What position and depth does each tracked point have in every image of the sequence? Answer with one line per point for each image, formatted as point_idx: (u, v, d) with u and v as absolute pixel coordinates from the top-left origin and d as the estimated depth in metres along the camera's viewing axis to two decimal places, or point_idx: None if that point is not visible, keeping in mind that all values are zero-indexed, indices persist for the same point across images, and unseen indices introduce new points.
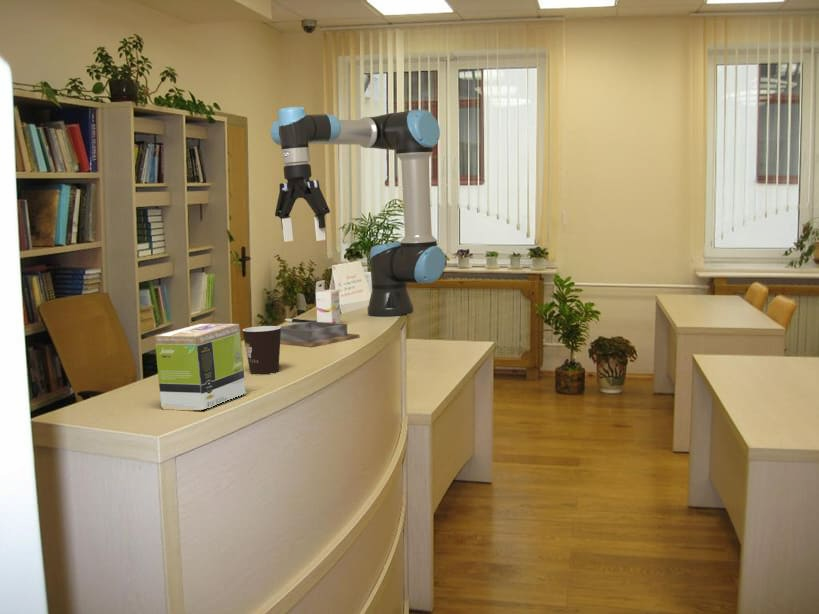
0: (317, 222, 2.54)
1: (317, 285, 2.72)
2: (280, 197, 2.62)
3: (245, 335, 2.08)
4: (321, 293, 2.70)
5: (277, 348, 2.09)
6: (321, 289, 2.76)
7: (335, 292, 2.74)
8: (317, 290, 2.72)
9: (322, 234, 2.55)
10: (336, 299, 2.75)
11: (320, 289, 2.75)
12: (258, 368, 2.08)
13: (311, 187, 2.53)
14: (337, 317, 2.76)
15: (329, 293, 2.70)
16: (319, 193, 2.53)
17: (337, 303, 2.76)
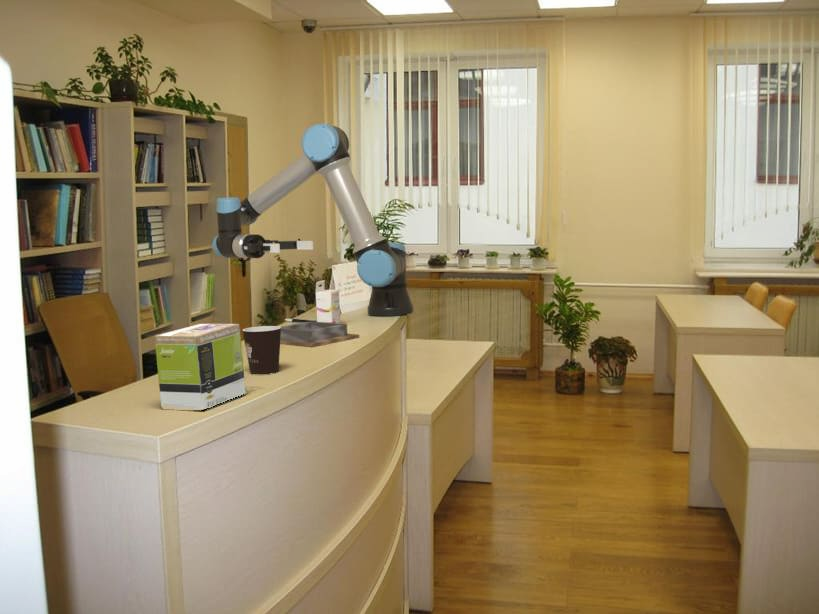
0: (266, 251, 2.79)
1: (317, 285, 2.72)
2: None
3: (245, 335, 2.08)
4: (321, 293, 2.70)
5: (277, 348, 2.09)
6: (321, 289, 2.76)
7: (335, 292, 2.74)
8: (317, 290, 2.72)
9: (274, 247, 2.76)
10: (336, 299, 2.75)
11: (320, 289, 2.75)
12: (258, 368, 2.08)
13: (248, 251, 2.86)
14: (337, 317, 2.76)
15: (329, 293, 2.70)
16: (248, 247, 2.83)
17: (337, 303, 2.76)
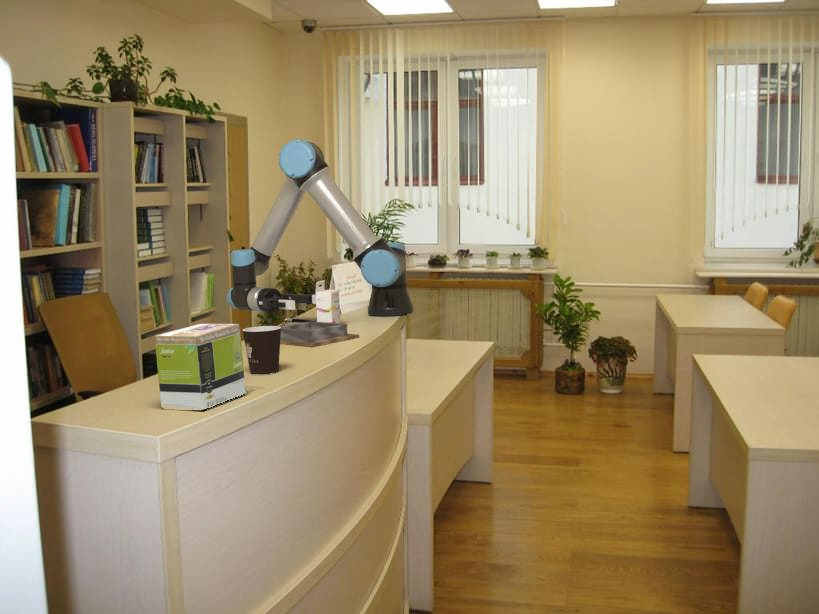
0: (282, 308, 2.77)
1: (317, 285, 2.72)
2: None
3: (245, 335, 2.08)
4: (321, 293, 2.70)
5: (277, 348, 2.09)
6: (321, 289, 2.76)
7: (335, 292, 2.74)
8: (317, 290, 2.72)
9: (289, 303, 2.74)
10: (336, 299, 2.75)
11: (320, 289, 2.75)
12: (258, 368, 2.08)
13: (263, 306, 2.84)
14: (337, 317, 2.76)
15: (329, 293, 2.70)
16: (263, 302, 2.81)
17: (337, 303, 2.76)
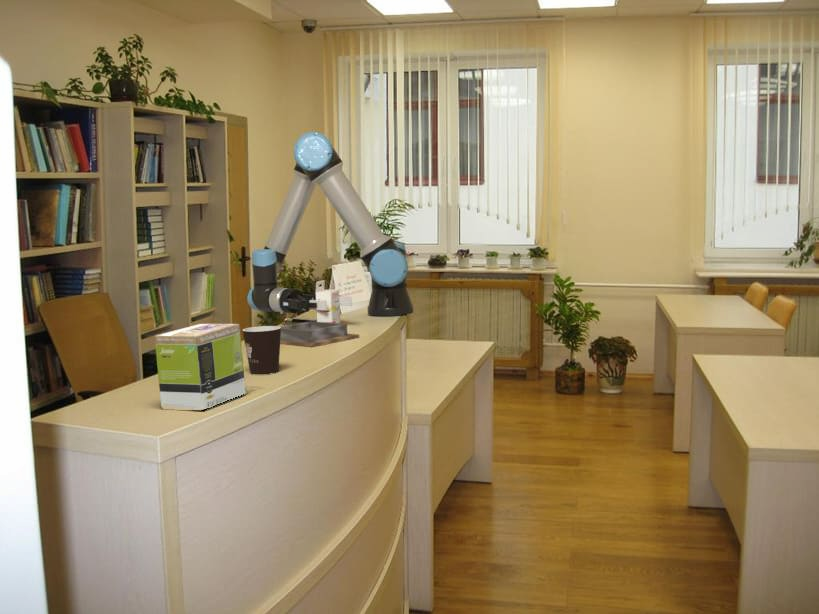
0: (313, 308, 2.71)
1: (317, 285, 2.72)
2: None
3: (245, 335, 2.08)
4: (321, 293, 2.70)
5: (277, 348, 2.09)
6: (321, 289, 2.76)
7: (335, 292, 2.74)
8: (317, 290, 2.72)
9: (321, 304, 2.69)
10: (336, 299, 2.75)
11: (320, 289, 2.75)
12: (258, 368, 2.08)
13: (288, 307, 2.77)
14: (337, 317, 2.76)
15: (329, 293, 2.70)
16: (290, 303, 2.75)
17: (337, 303, 2.76)
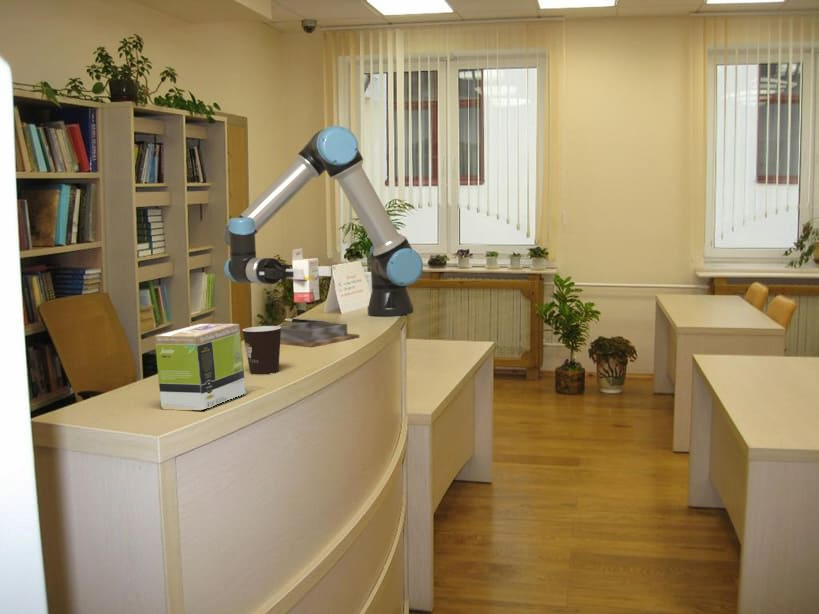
0: (289, 277, 2.56)
1: (294, 253, 2.57)
2: None
3: (245, 335, 2.08)
4: (298, 261, 2.56)
5: (277, 348, 2.09)
6: (299, 258, 2.61)
7: (313, 261, 2.59)
8: (294, 258, 2.58)
9: (297, 273, 2.54)
10: (314, 268, 2.60)
11: (298, 258, 2.60)
12: (258, 368, 2.08)
13: None
14: (316, 287, 2.61)
15: (306, 261, 2.55)
16: (266, 272, 2.60)
17: (316, 273, 2.61)
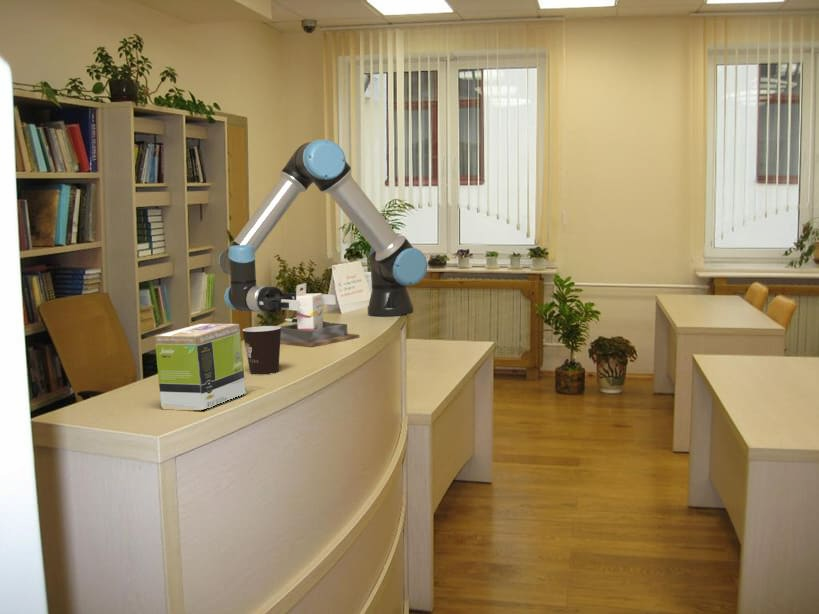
0: (285, 308, 2.52)
1: (298, 289, 2.54)
2: None
3: (245, 335, 2.08)
4: (302, 297, 2.53)
5: (277, 348, 2.09)
6: (302, 293, 2.58)
7: (317, 296, 2.56)
8: (298, 294, 2.55)
9: (293, 304, 2.50)
10: (318, 304, 2.57)
11: (301, 293, 2.57)
12: (258, 368, 2.08)
13: None
14: (319, 323, 2.58)
15: (310, 297, 2.52)
16: (264, 302, 2.57)
17: (319, 308, 2.58)
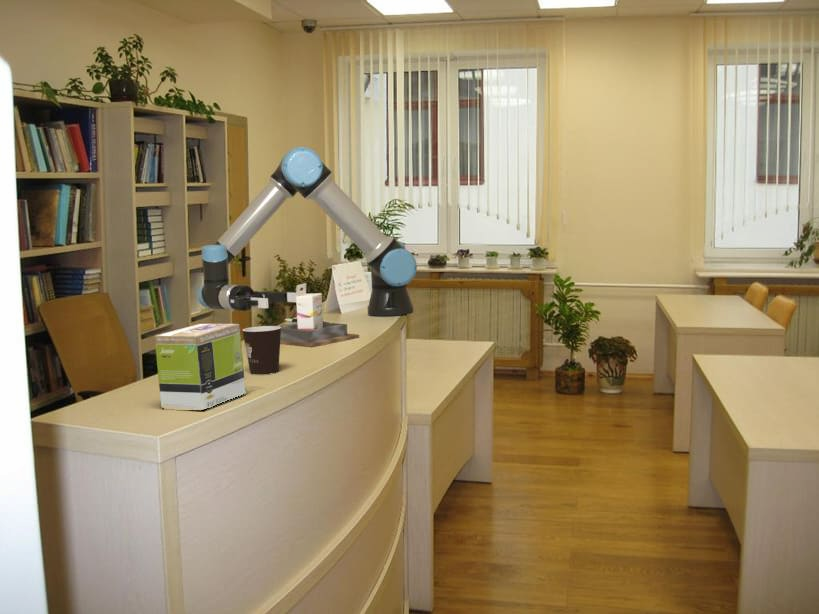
0: (254, 306, 2.61)
1: (298, 289, 2.54)
2: None
3: (245, 335, 2.08)
4: (302, 297, 2.53)
5: (277, 348, 2.09)
6: (302, 293, 2.58)
7: (317, 296, 2.56)
8: (298, 294, 2.55)
9: (262, 302, 2.58)
10: (318, 304, 2.57)
11: (301, 293, 2.57)
12: (258, 368, 2.08)
13: None
14: (319, 323, 2.58)
15: (310, 297, 2.52)
16: (235, 300, 2.65)
17: (319, 308, 2.58)
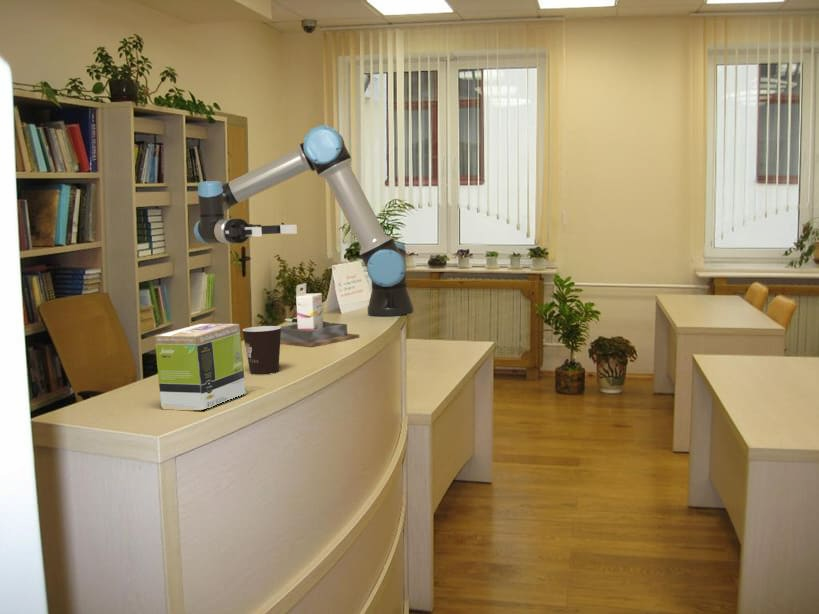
0: (248, 235, 2.70)
1: (298, 289, 2.54)
2: None
3: (245, 335, 2.08)
4: (302, 297, 2.53)
5: (277, 348, 2.09)
6: (302, 293, 2.58)
7: (317, 296, 2.56)
8: (298, 294, 2.55)
9: (255, 230, 2.67)
10: (318, 304, 2.57)
11: (301, 293, 2.57)
12: (258, 368, 2.08)
13: None
14: (319, 323, 2.58)
15: (310, 297, 2.52)
16: (229, 231, 2.74)
17: (319, 308, 2.58)
